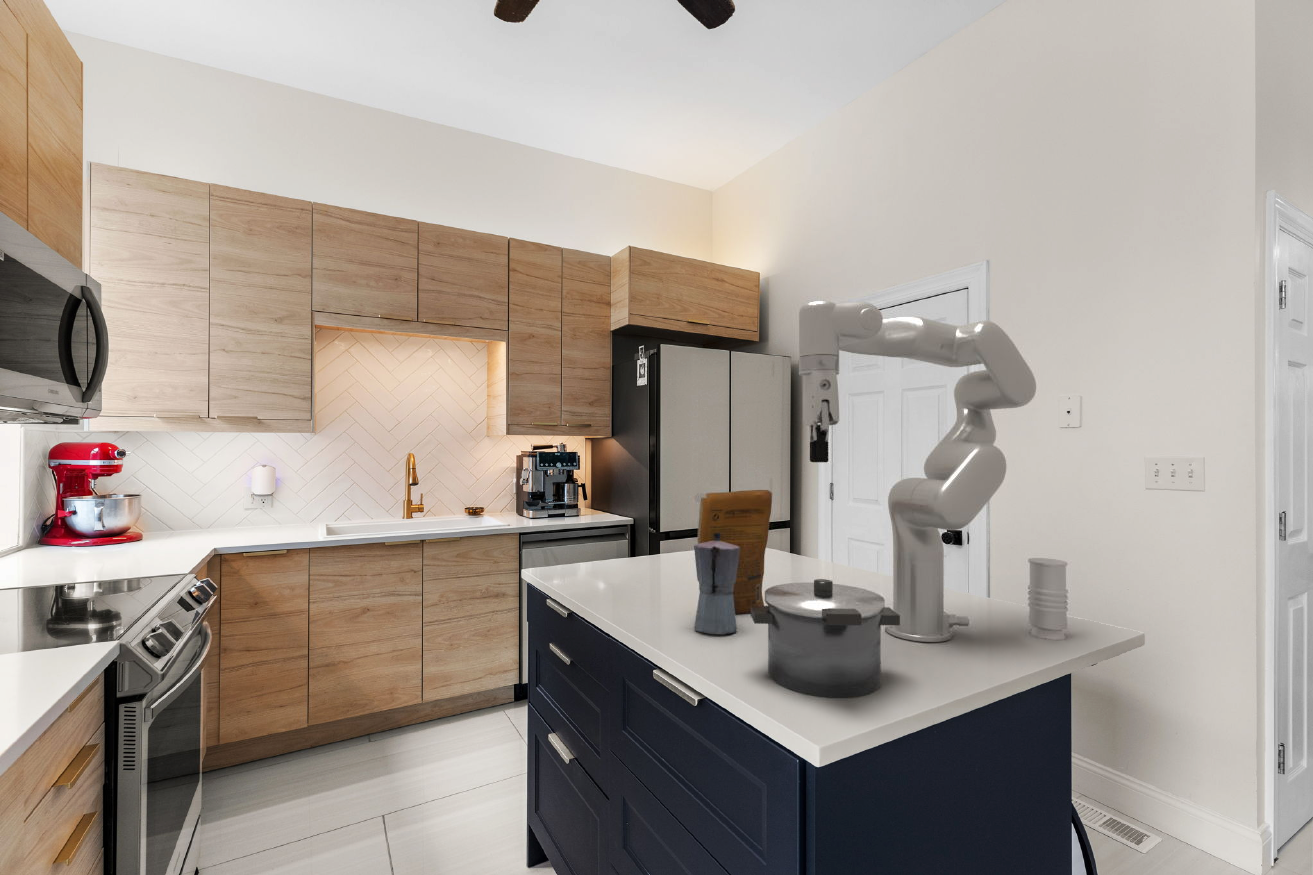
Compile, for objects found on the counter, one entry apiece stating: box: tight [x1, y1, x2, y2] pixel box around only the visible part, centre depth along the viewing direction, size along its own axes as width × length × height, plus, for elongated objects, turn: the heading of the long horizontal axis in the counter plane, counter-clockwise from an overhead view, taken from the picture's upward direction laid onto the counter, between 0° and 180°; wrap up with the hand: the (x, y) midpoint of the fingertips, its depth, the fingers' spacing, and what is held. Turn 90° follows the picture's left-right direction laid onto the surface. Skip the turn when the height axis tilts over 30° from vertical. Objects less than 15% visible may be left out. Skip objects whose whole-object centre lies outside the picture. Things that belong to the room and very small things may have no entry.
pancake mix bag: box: [697, 489, 773, 615], centre depth 141 cm, size 7×19×28 cm, turn 107°
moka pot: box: [693, 533, 740, 635], centre depth 127 cm, size 10×15×20 cm, turn 174°
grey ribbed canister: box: [1027, 557, 1069, 641], centre depth 125 cm, size 7×7×15 cm
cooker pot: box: [750, 604, 900, 699], centre depth 103 cm, size 23×20×12 cm
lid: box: [764, 578, 886, 625], centre depth 101 cm, size 22×19×4 cm
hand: (819, 461), depth 119 cm, fingers closed
